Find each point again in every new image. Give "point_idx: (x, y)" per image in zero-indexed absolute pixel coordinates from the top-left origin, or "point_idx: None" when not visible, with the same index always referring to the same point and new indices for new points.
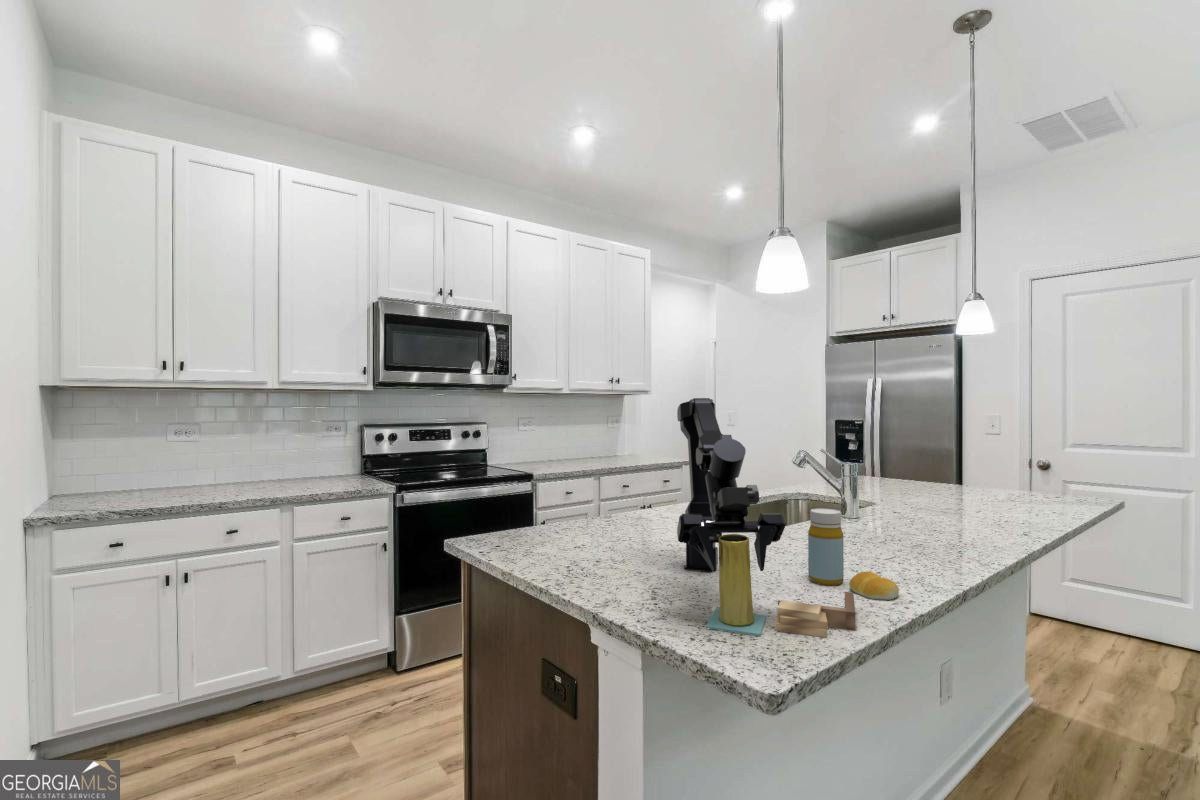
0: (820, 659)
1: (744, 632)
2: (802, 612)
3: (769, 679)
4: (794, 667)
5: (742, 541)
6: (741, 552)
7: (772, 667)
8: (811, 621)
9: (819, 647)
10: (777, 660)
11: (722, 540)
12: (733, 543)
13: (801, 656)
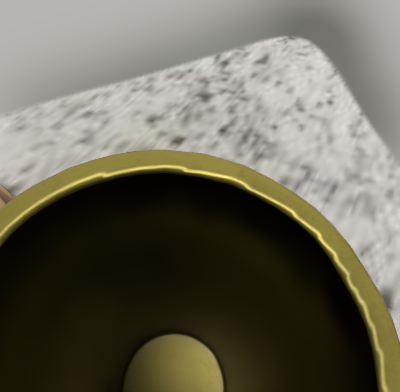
0: (118, 101)
1: None
2: (3, 203)
3: (279, 68)
4: (199, 90)
5: (153, 153)
6: (170, 220)
7: (245, 102)
8: (2, 191)
9: (68, 146)
10: (214, 122)
11: (382, 310)
12: (267, 183)
13: (147, 122)
